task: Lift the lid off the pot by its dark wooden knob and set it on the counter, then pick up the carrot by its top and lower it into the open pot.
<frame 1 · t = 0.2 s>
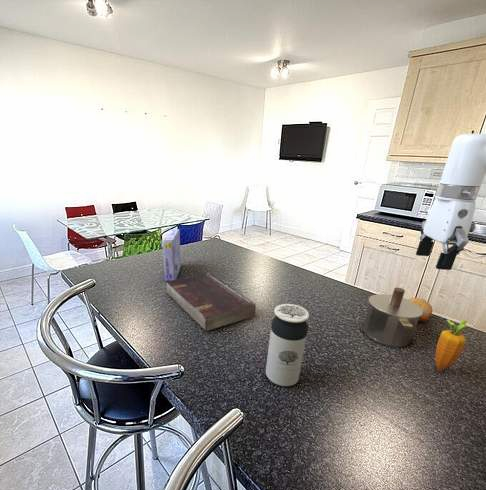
hand: (432, 261, 74), 25 cm above the kitchen island, tool pointing down, fingers open, 9 cm apart
pot lid: (394, 306, 85), point 9 cm above the kitchen island, touching pot
fruit: (413, 319, 97), on the kitchen island
pot: (385, 333, 89), on the kitchen island
hardback book: (207, 304, 103), on the kitchen island
travel mug: (281, 375, 72), on the kitchen island
carrot: (438, 371, 74), on the kitchen island
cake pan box: (173, 273, 128), on the kitchen island
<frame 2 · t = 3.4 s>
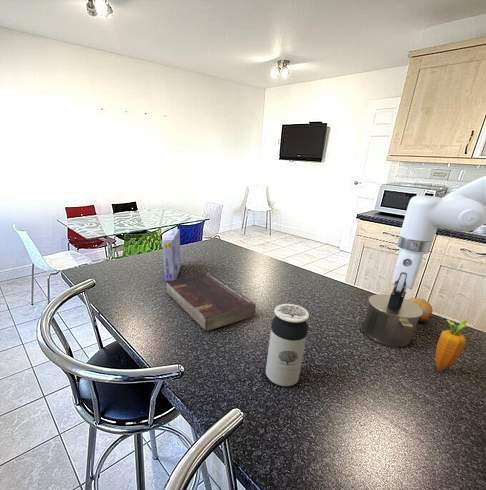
hand: (395, 304, 85), 10 cm above the kitchen island, tool pointing down, fingers closed on pot lid, 2 cm apart
pot lid: (394, 306, 85), point 10 cm above the kitchen island, touching gripper, pot
everything else where it was.
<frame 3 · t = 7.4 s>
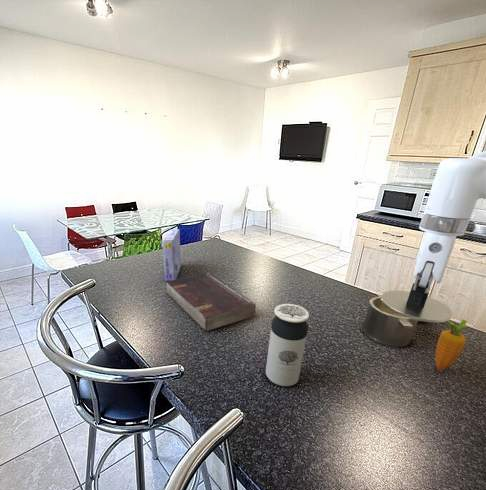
hand: (415, 303, 66), 19 cm above the kitchen island, tool pointing down, fingers closed on pot lid, 2 cm apart
pot lid: (414, 306, 66), point 19 cm above the kitchen island, touching gripper
everything else where it was.
when the fingers open (1 cm above the kitchen island, at t = 11.4 s): pot lid stays where it is, point 1 cm above the kitchen island.
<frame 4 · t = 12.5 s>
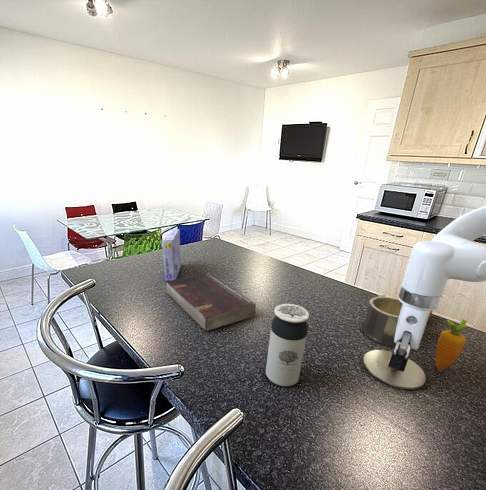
hand: (399, 357, 72), 4 cm above the kitchen island, tool pointing down, fingers open, 9 cm apart
pot lid: (392, 368, 74), point 1 cm above the kitchen island
everything else where it was.
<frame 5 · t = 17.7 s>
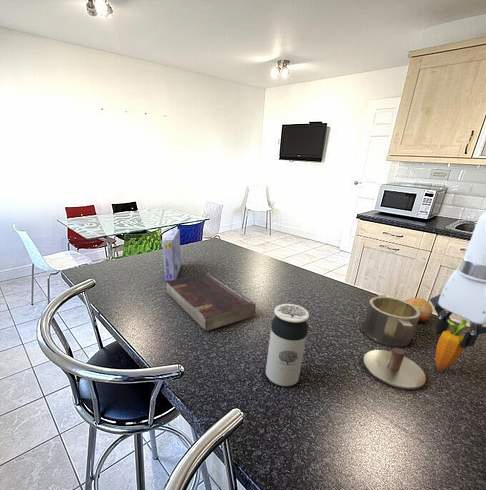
hand: (452, 338, 70), 10 cm above the kitchen island, tool pointing down, fingers closed on carrot, 4 cm apart
carrot: (438, 371, 74), on the kitchen island, touching gripper
everything else where it was.
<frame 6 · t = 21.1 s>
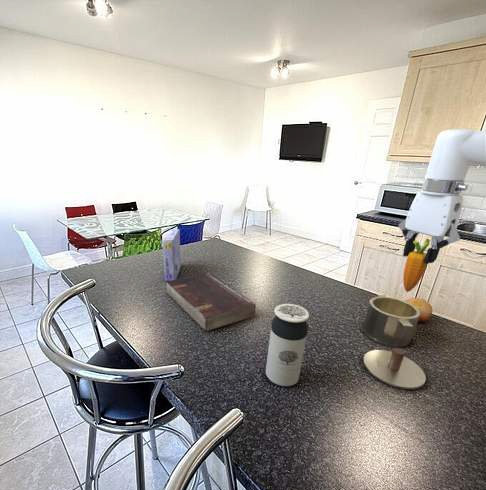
hand: (418, 258, 77), 25 cm above the kitchen island, tool pointing down, fingers closed on carrot, 4 cm apart
carrot: (406, 292, 81), point 15 cm above the kitchen island, touching gripper
everything else where it was.
when the fingers open (10 cm above the kitchen island, at t = 24.9 s): carrot stays where it is, resting on pot.
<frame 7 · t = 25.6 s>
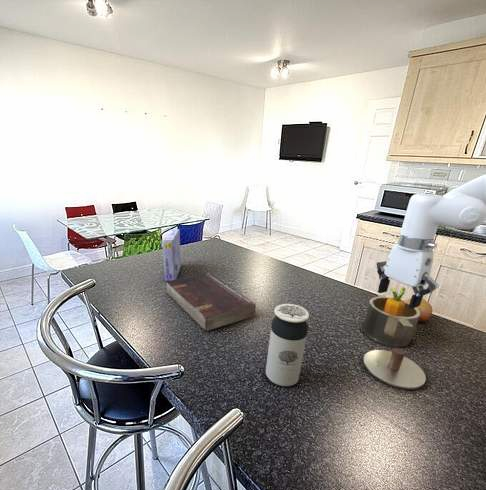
hand: (396, 299, 84), 12 cm above the kitchen island, tool pointing down, fingers open, 9 cm apart
carrot: (386, 333, 89), resting on pot
everything else where it was.
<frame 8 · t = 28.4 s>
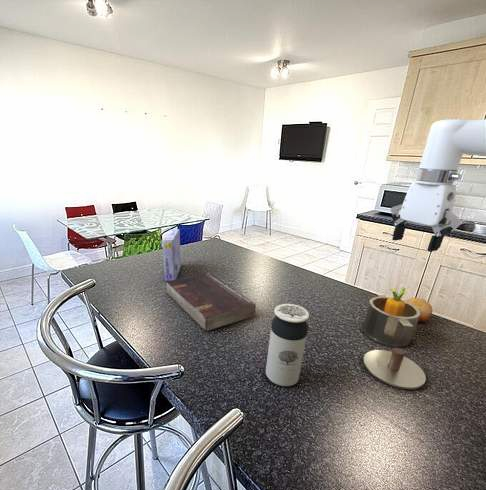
hand: (413, 245, 77), 28 cm above the kitchen island, tool pointing down, fingers open, 9 cm apart
nothing on the kitchen island moved.
at the end: pot lid point 0.6 cm above the kitchen island; pot lid inside the target area (0.0 cm from its centre), point 0.6 cm above the kitchen island; carrot inside the target area in the pot (0.1 cm from its centre), point 0.3 cm above the pot's base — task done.
